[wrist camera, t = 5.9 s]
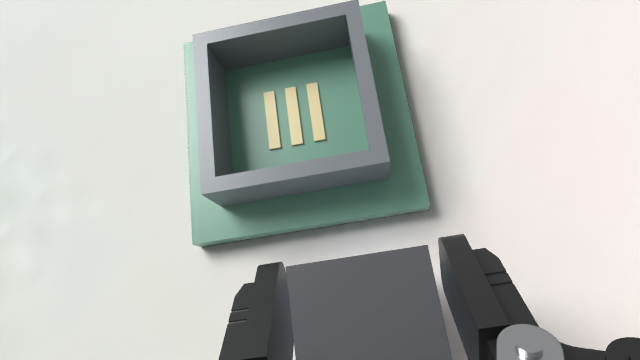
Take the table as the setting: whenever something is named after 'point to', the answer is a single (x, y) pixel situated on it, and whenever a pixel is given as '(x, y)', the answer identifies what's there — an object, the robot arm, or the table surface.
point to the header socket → (298, 125)
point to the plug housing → (368, 308)
